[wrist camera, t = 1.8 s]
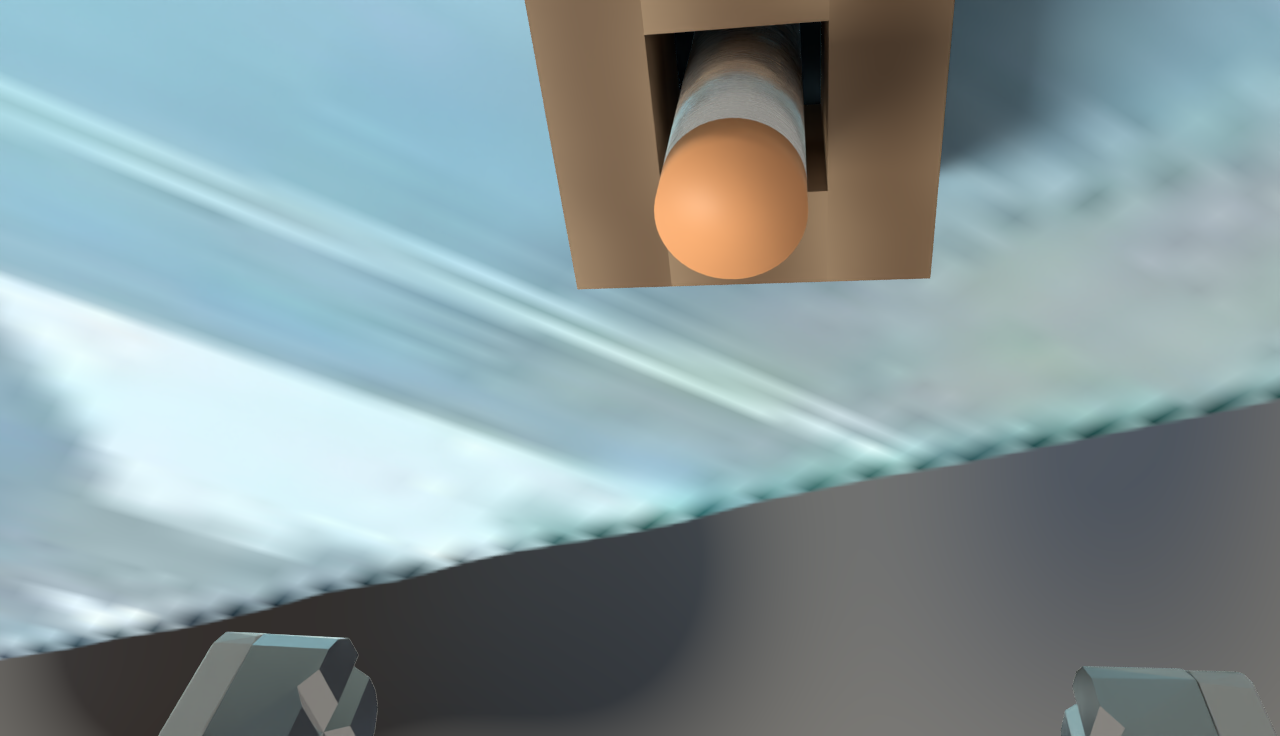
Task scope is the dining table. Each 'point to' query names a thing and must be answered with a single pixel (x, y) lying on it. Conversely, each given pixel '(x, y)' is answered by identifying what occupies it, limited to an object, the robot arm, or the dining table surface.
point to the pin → (736, 154)
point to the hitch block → (834, 129)
